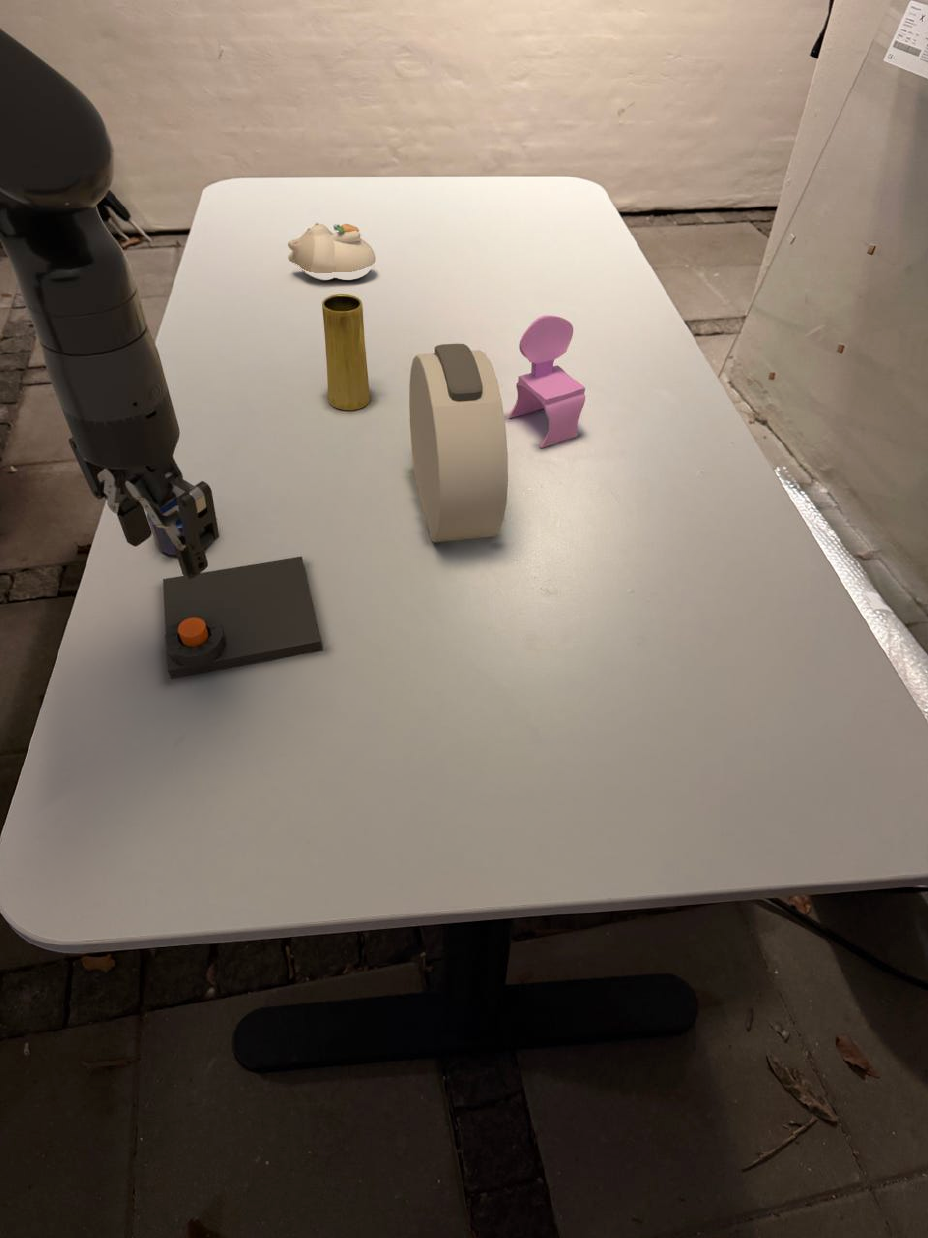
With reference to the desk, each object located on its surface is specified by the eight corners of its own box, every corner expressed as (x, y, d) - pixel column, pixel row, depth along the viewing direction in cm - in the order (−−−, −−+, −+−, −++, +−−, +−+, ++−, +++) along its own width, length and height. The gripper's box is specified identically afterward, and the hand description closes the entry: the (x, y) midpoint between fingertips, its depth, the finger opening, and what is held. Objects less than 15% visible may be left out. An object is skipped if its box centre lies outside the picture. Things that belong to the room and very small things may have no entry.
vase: (371, 410, 110) (366, 313, 99) (328, 412, 109) (318, 314, 98) (369, 387, 114) (364, 291, 103) (327, 388, 113) (317, 292, 102)
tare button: (182, 649, 76) (178, 639, 75) (180, 630, 77) (177, 619, 76) (209, 644, 76) (206, 634, 75) (207, 625, 78) (204, 615, 77)
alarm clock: (501, 558, 90) (517, 410, 76) (438, 565, 89) (441, 416, 74) (464, 450, 104) (471, 308, 89) (409, 455, 103) (407, 311, 88)
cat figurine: (377, 218, 132) (287, 209, 128) (379, 260, 130) (288, 252, 127) (371, 254, 141) (287, 247, 137) (373, 294, 139) (288, 288, 136)
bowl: (157, 562, 87) (147, 532, 84) (156, 526, 91) (146, 496, 88) (216, 553, 89) (208, 523, 85) (212, 517, 93) (204, 488, 90)
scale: (171, 680, 76) (163, 661, 74) (165, 587, 85) (159, 568, 83) (322, 651, 80) (319, 632, 77) (303, 565, 88) (300, 545, 86)
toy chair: (536, 452, 104) (550, 349, 93) (501, 419, 109) (510, 317, 98) (585, 436, 108) (604, 334, 96) (549, 404, 112) (563, 304, 101)
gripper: (4, 378, 57) (79, 547, 69) (140, 448, 52) (194, 616, 64) (89, 338, 61) (145, 503, 73) (222, 399, 56) (257, 565, 68)
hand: (168, 555), depth 69 cm, fingers open, 6 cm apart
